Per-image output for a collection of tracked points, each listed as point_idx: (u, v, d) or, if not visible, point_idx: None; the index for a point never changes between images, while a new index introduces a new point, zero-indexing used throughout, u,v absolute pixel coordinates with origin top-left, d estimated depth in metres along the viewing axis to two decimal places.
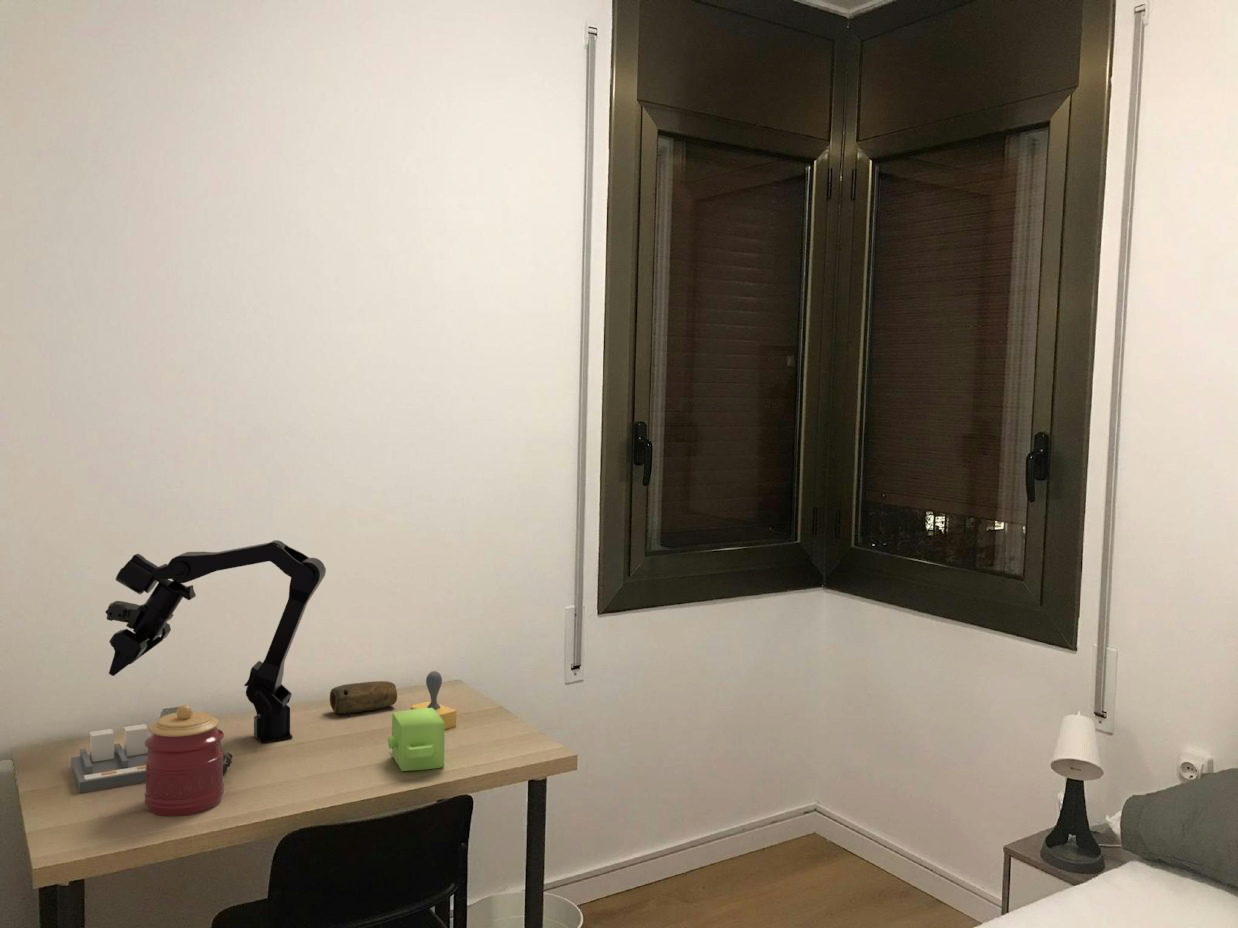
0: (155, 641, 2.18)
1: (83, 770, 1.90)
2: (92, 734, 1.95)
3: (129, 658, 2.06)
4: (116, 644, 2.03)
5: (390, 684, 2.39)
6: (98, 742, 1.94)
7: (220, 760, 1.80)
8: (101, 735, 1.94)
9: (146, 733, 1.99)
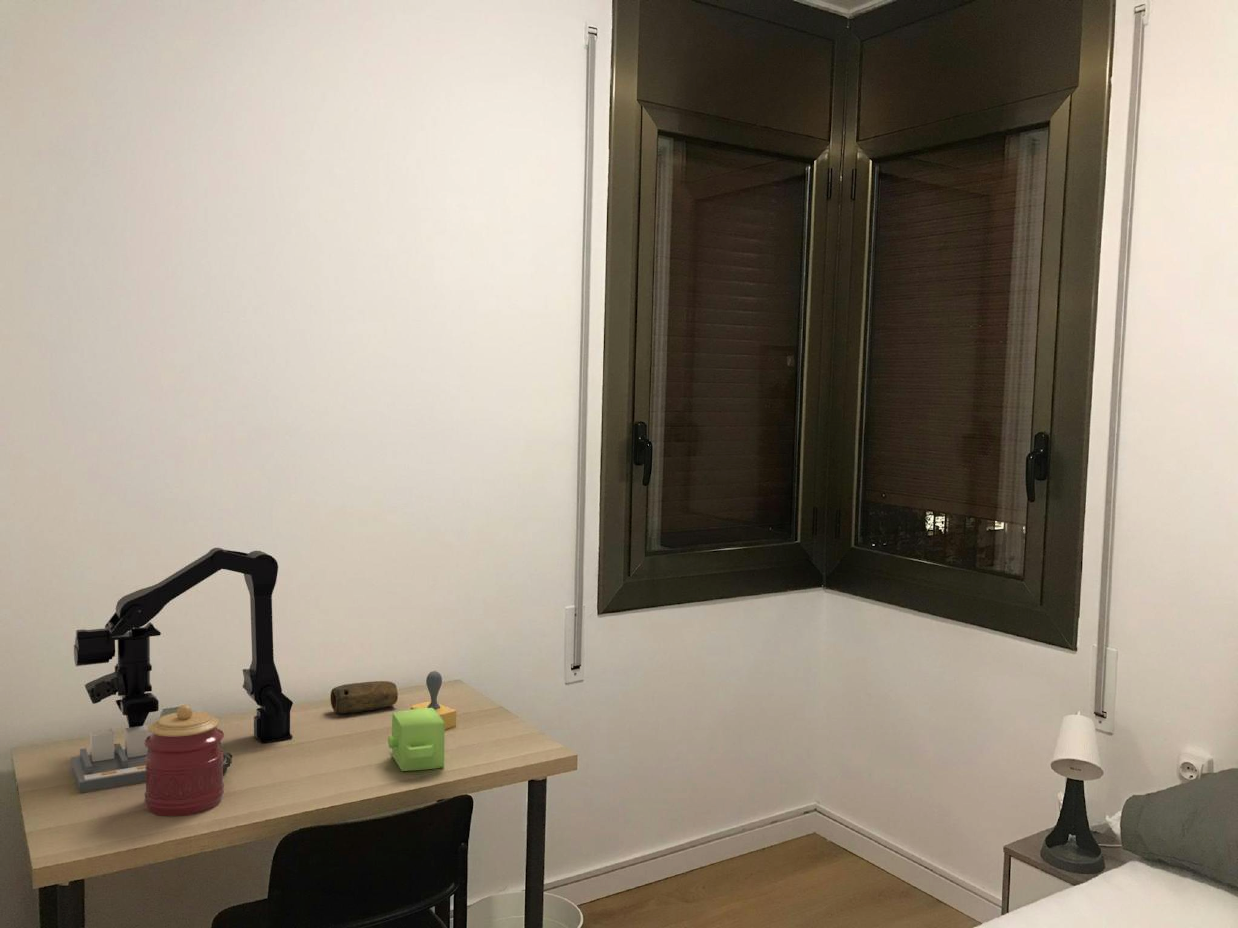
0: None
1: (83, 770, 1.90)
2: (92, 734, 1.95)
3: None
4: (133, 712, 1.92)
5: (391, 684, 2.39)
6: (98, 742, 1.94)
7: (220, 760, 1.80)
8: (101, 735, 1.94)
9: (147, 734, 1.98)
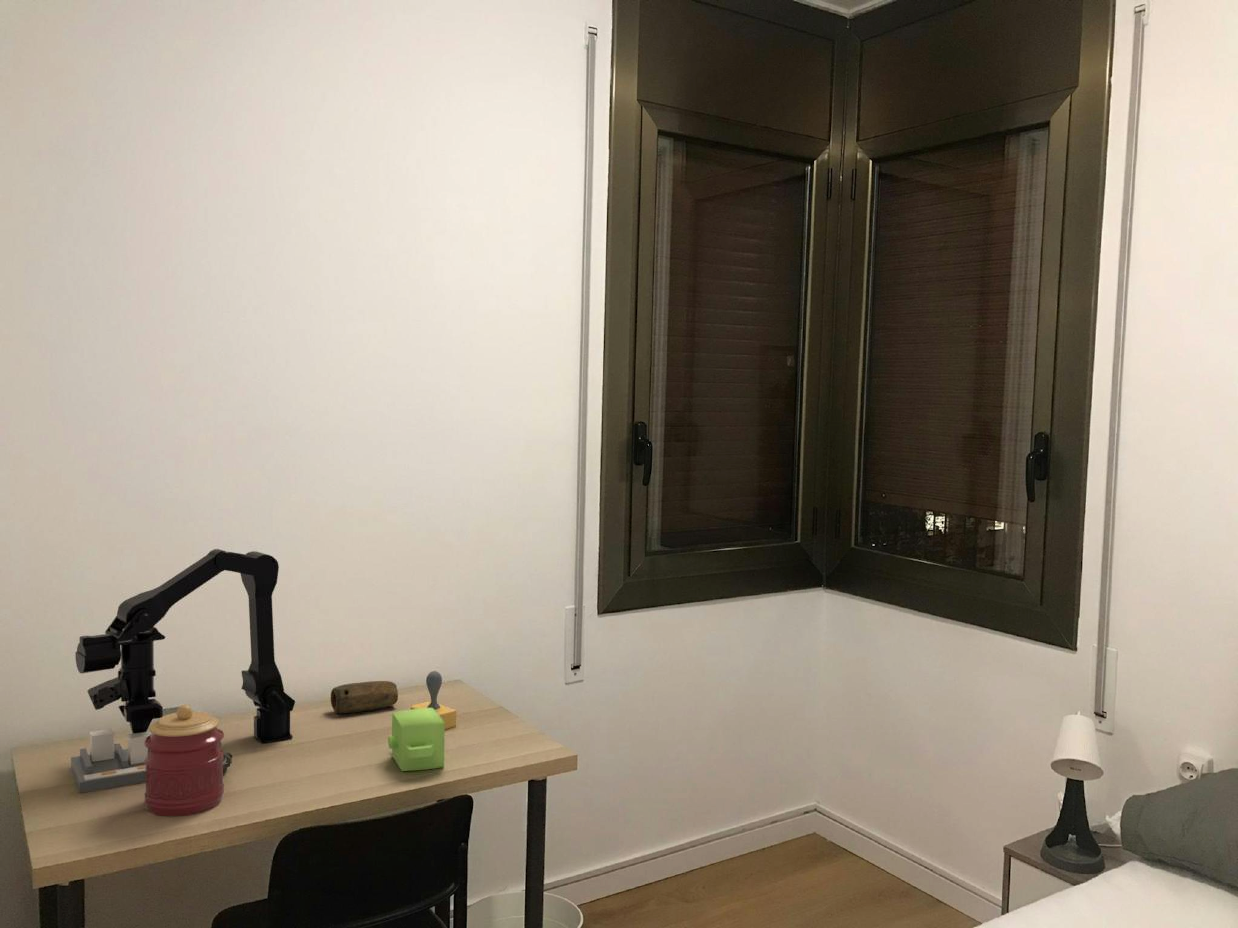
0: None
1: (83, 770, 1.90)
2: (92, 734, 1.95)
3: None
4: (136, 718, 1.88)
5: (391, 684, 2.39)
6: (98, 742, 1.94)
7: (220, 760, 1.80)
8: (101, 735, 1.94)
9: None
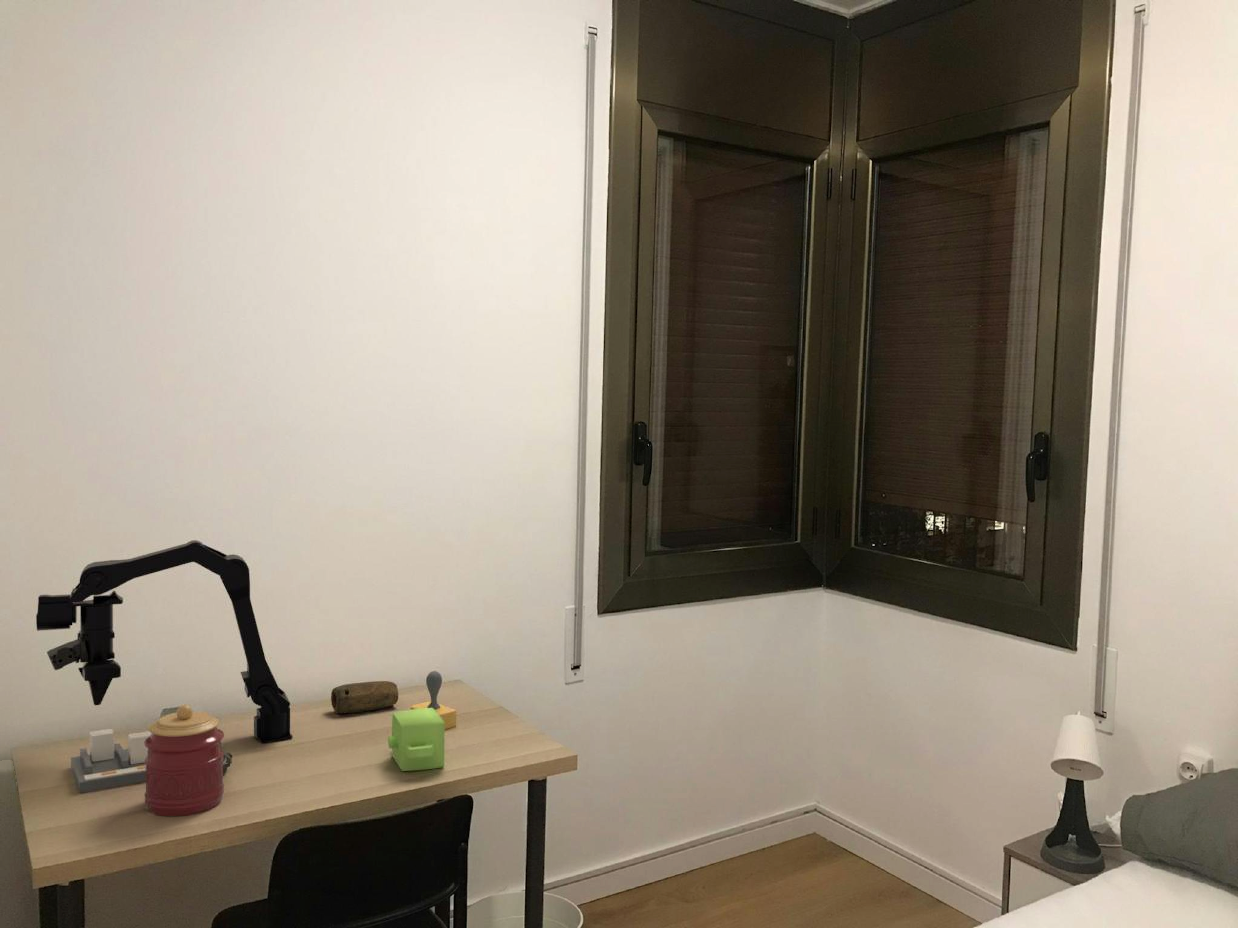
0: None
1: (83, 770, 1.90)
2: (92, 734, 1.95)
3: (107, 678, 2.01)
4: (94, 677, 1.93)
5: (391, 684, 2.39)
6: (98, 742, 1.94)
7: (220, 760, 1.80)
8: (101, 735, 1.94)
9: None
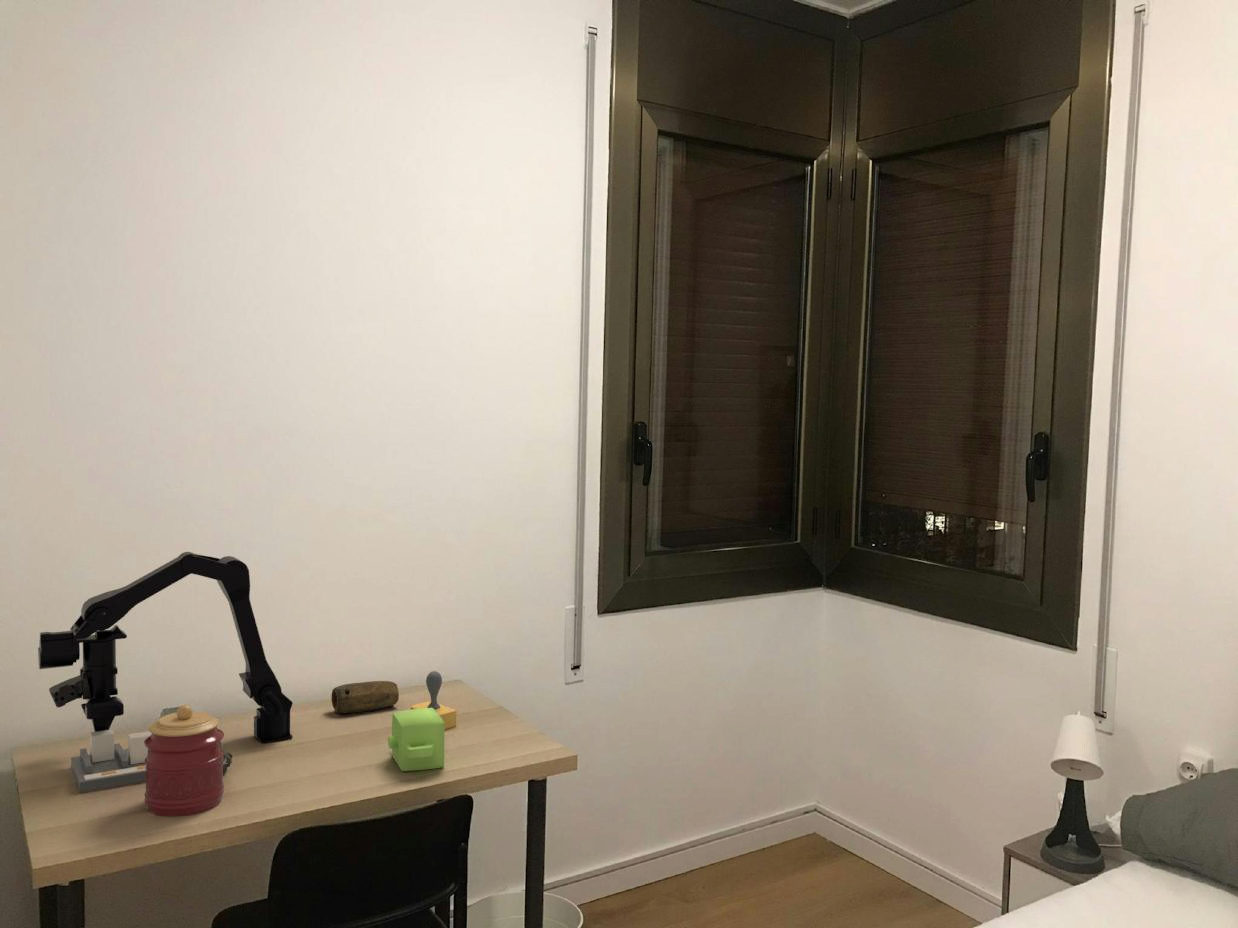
0: None
1: (83, 770, 1.90)
2: (92, 735, 1.94)
3: None
4: (97, 716, 1.89)
5: (392, 684, 2.39)
6: (98, 742, 1.94)
7: (220, 760, 1.80)
8: (101, 735, 1.94)
9: None
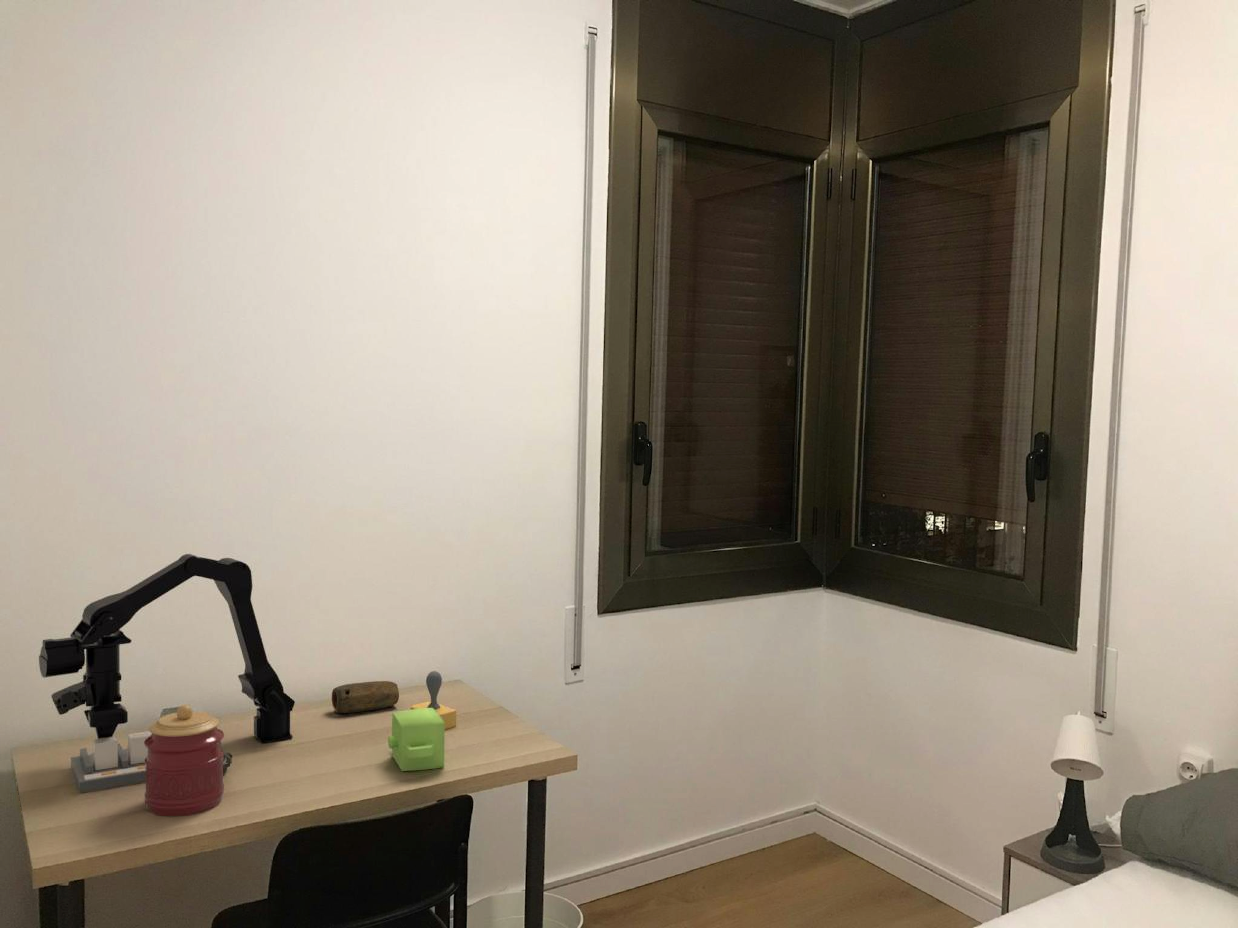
0: None
1: (83, 770, 1.90)
2: (95, 742, 1.90)
3: None
4: (100, 724, 1.85)
5: (392, 684, 2.39)
6: (101, 750, 1.90)
7: (220, 760, 1.80)
8: (104, 743, 1.90)
9: None
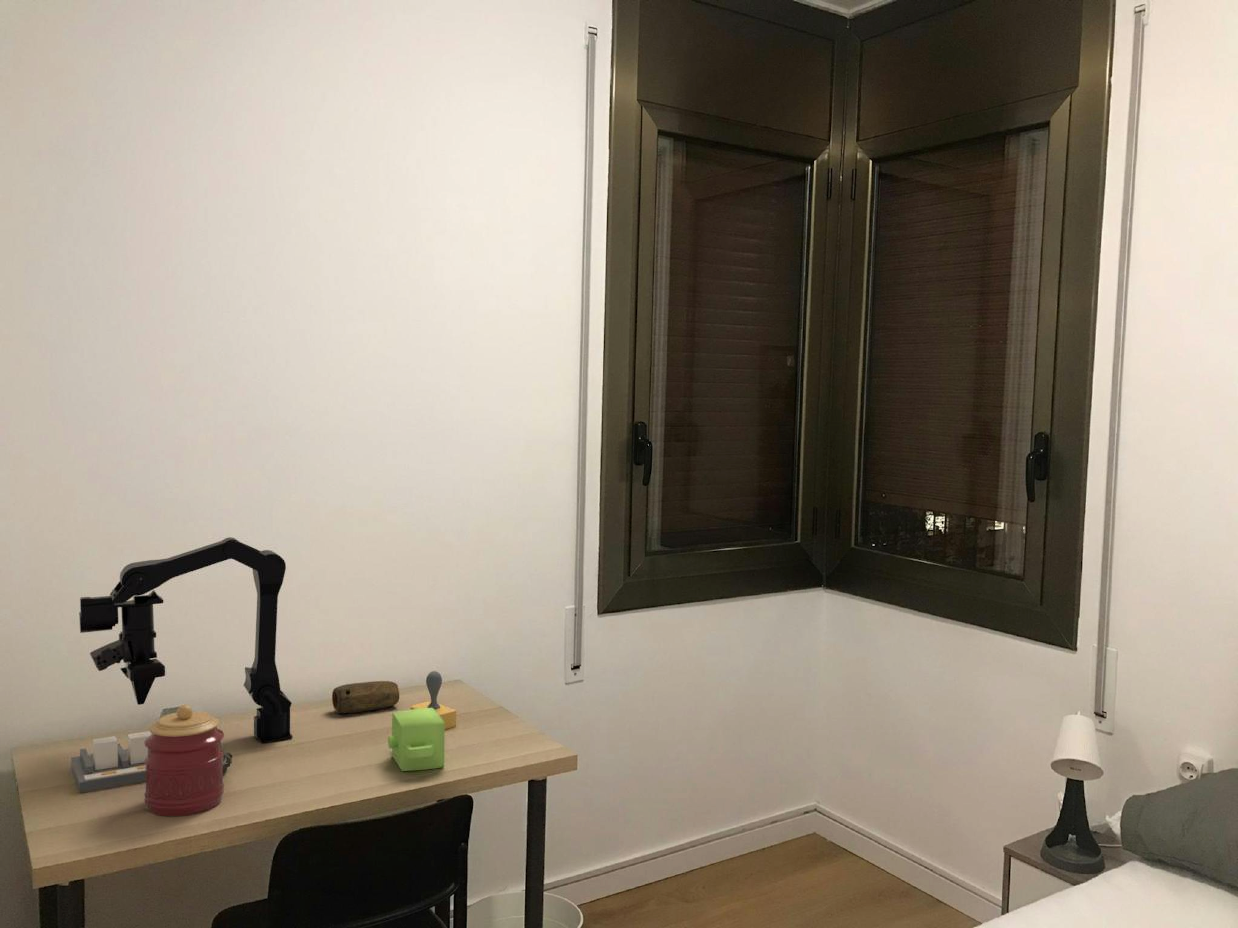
0: None
1: (83, 770, 1.90)
2: (95, 742, 1.90)
3: (150, 677, 2.02)
4: (140, 677, 1.94)
5: (392, 684, 2.39)
6: (101, 750, 1.90)
7: (220, 760, 1.80)
8: (104, 742, 1.90)
9: None
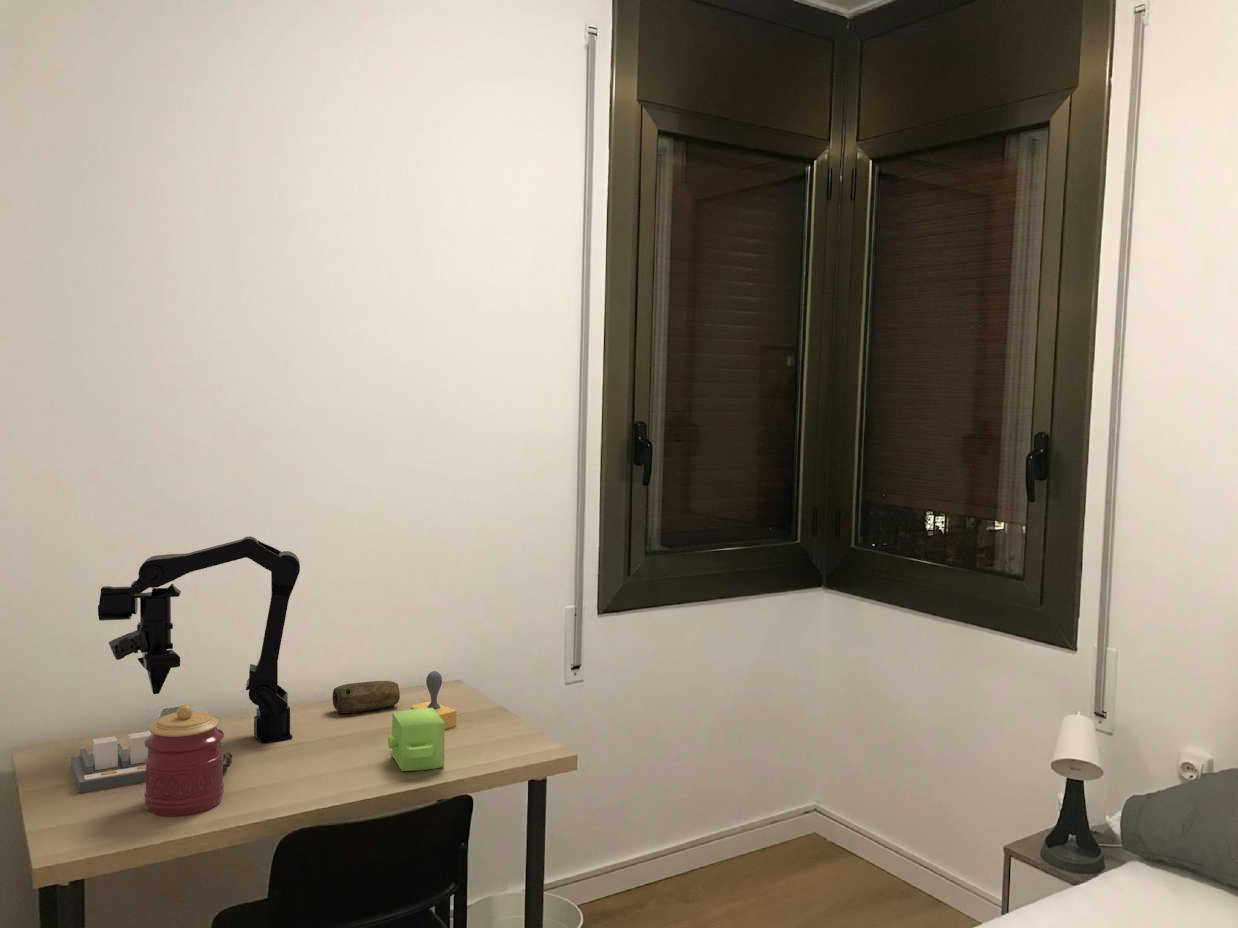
0: None
1: (83, 770, 1.90)
2: (95, 742, 1.90)
3: (166, 668, 2.08)
4: (155, 667, 2.00)
5: (393, 684, 2.39)
6: (101, 750, 1.90)
7: (220, 760, 1.80)
8: (104, 742, 1.90)
9: None
